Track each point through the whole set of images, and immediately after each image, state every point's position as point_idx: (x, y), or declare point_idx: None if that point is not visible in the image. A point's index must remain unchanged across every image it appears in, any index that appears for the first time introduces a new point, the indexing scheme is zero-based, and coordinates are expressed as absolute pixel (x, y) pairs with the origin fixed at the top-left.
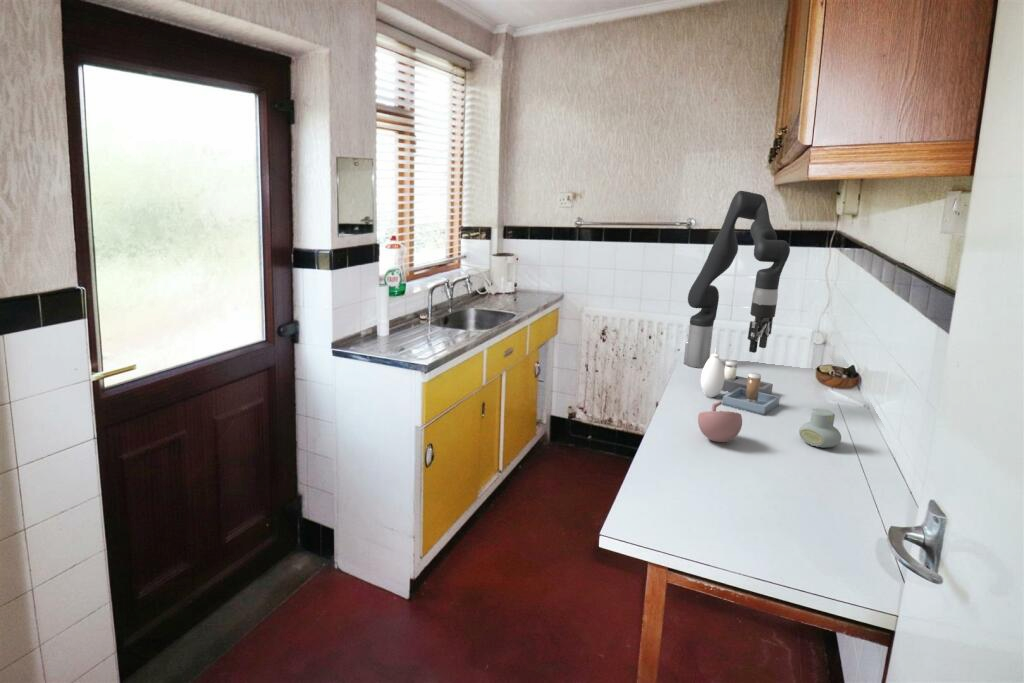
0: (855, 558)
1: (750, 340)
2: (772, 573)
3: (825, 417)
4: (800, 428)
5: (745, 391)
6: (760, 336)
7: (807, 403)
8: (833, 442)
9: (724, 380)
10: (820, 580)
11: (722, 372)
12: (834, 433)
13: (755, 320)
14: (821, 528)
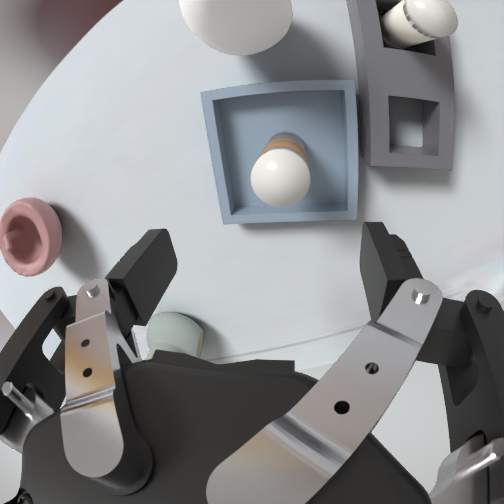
0: (52, 354)
1: (99, 284)
2: (12, 324)
3: None
4: (152, 322)
5: (345, 106)
6: (390, 281)
7: (419, 254)
8: None
9: (359, 18)
10: None
11: (227, 42)
12: None
13: (25, 468)
14: (51, 341)
